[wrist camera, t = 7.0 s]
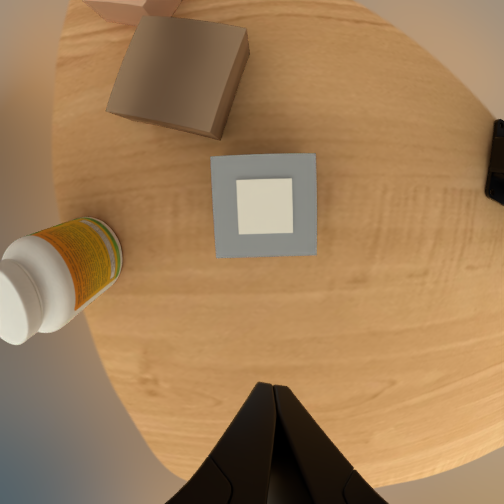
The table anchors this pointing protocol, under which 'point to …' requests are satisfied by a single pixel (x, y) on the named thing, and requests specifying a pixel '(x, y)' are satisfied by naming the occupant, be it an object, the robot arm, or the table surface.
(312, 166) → the grey cream-patch block
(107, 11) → the tan cream-patch box
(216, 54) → the walnut block
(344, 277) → the table surface
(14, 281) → the supplement bottle
